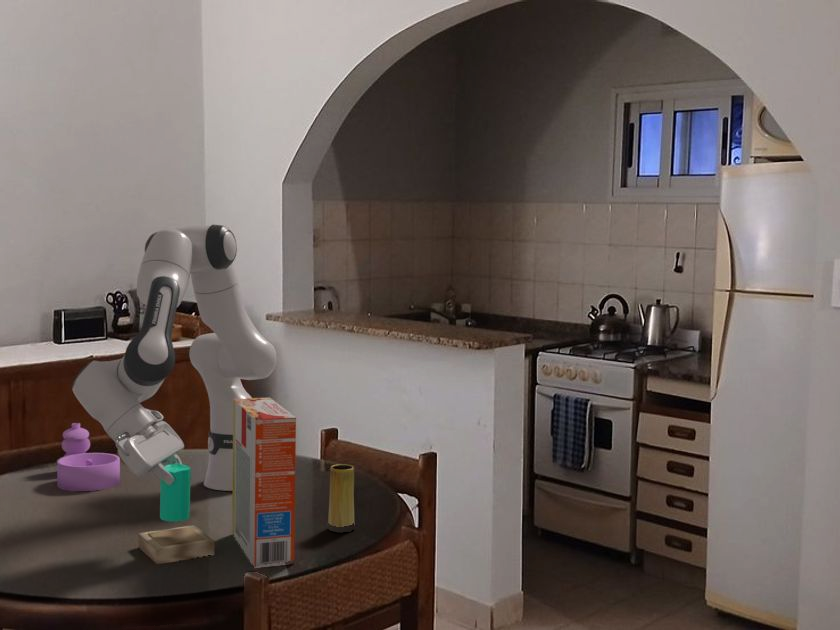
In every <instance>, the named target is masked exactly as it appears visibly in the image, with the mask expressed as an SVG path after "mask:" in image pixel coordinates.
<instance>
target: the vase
mask: <svg viewBox="0 0 840 630" xmlns="http://www.w3.org/2000/svg"><path fill="white" fill-rule="evenodd" d="M329 475H330V476H329V499H328V500H329V501H328V503H329V504H328V516H327V517H328V518H327V519H328V521H327V524H328V523H329V524H330V525H332V526H336V527H344V526H349V525H352V524H353V523H354V524H355V503H354V502H355V501H354V500H355V499H354V498H355V497H354V495H355V494H354V493H355V492H354V491H355V489H354V488H355V467H354V465H352V464H347V463H346V464H345V463H344V464H342V463H341V464H338V463H337V464H333V465H331V466H330V474H329Z"/></svg>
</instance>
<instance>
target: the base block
mask: <svg viewBox="0 0 840 630" xmlns="http://www.w3.org/2000/svg"><path fill="white" fill-rule="evenodd" d="M138 548H139V549H140V550H141V551H142V552H143V553H144V554H145V555H146V556H148V558H149V559H151V560H152V561H153V562H154V563H155V564H156V565H162V564H169V563H174V562H175V563H176V562H180V560H181V561H186V560H187V561H188V560H192V559H191V558H193V559H198V558H197V557H199V558H203V556H205V557H209V556H208V555H211V556H215V540H214V539H213V538H211V537H210V536H209V535H208V534H206V533H205V532H204V531H203V530H201V529H200V528H198V527H197V526H196V525H195V524H193V525H185V526H179V527H174V528H166V529H158V530H153V531H151V530H150V531H145V532H139V533H138Z"/></svg>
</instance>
